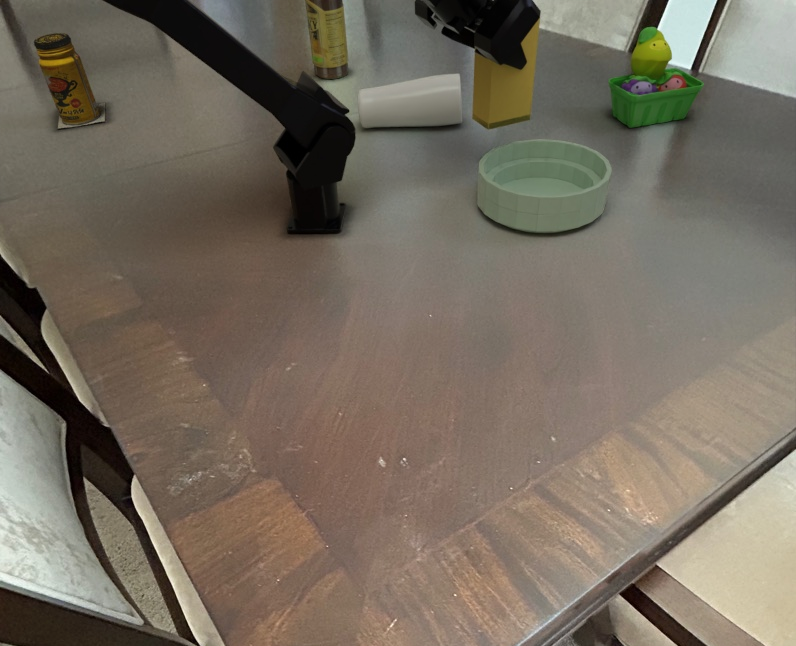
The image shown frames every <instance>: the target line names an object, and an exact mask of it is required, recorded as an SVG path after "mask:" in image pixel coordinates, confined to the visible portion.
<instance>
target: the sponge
mask: <svg viewBox="0 0 796 646" xmlns="http://www.w3.org/2000/svg"><path fill="white" fill-rule="evenodd" d="M540 11H541V10H540ZM540 22H541V17H540V18H539V20H538V21H537V22H536V24H535V25H534V26H533V28H532V29H531V30H530V32H529V33H528V34H527V36H526V37H525V38H524V40H523V41H522V42H521V45H522V48H523V51H524V54H525V57H526V60H527V64H526V65H525V66H524V68H523V69H522V70H519V69H517V68H514V67H511V66H508V65H505V64H502V65H499V64H497V63H495V62H493V61H491V60H489V59H487V58H484V57H483V56H481V55H479V54H477V53H475V52H474V61H473V62H474V63H473V85H472V86H473V87H472V89H473V90H472V114H471V118H472V120H473V121H475V122H476V123H477V124H479V125H480V126H482V127H484V128H485V129H486V130H488V131H490V130H493V129H499V128H502V127H506V126H507V127H508V126H510V125H515V124H519V123H523V122H528V121H531V115H532V106H533V105H532V103H533V95H534V94H533V93H534V84H535V74H536V65H537V64H536V63H537V54H538V43H539V33H540V32H539V31H540ZM475 50H476V47H475V49H474V51H475Z"/></svg>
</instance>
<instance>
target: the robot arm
mask: <svg viewBox="0 0 796 646" xmlns="http://www.w3.org/2000/svg"><path fill="white" fill-rule="evenodd" d="M102 2H105V3H106V4H108V5H111V6H112V7H114V8H116V9H118V10H120V11H122V12H125V13H127V14H129V15H131V16H133V17H136V18H139V19H141V20H143V21H146V22H148V23H149V24H151V25H153V26H154V27H156V28H157V29H158V30H159V31H161V32H162V33H163V34H165V35H166V36H167V37H169V38H170V39H172V40H173V41H174V42H175V43H176V44H179V45H180V46H181V47H182V48H184V49H185V50H186V51H187V52H189V53H190V54H191V55H193V56H195V58H197V59H198V60H199V61H201V62H202V63H204V64H205V65H206V66H208V67H209V68H210V69H211V70H213V71H214V72H215V73H217V74H218V75H219V76H221V77H222V78H223V79H225V80H226V81H227V82H229V83H230V84H231V85H233V86H234V87H235V88H237V89H238V90H240V91H241V92H242V93H243V94H244V95H246V96H247V97H249V98H250V99H251V100H253V101H254V102H256V103H257V104H258V105H260V106H261V107H262V108H263V109H265V110H266V112H269V113H270V114H271V115H272V116H273V117H274V118H275V120H277V121H278V122H279V124H280V125H281V126H282V127H283V128H284V129H283V131H282V132H281V133H280V135H279V137H278V138H277V140H276V141H275V142H274V144H273V146H272V149H273V151H274V153H275V154H276V157H277V158H278V159H279V161H280V163H281V164H283V165H284V166H285V167H286V169H287V170H286V171H285V176H286V177H285V178H286V184H287V190H288V196H289V200H290V207H291V214H290V216H289V219H288V222H287V225H286V233H288V234H329V233H331V234H332V233H333V234H335V233H337V234H338V233H341V231H342V228H343V224H344V220H345V216H346V212H347V204H346V203H345V202H340V199H339V191H338V190H339V189H338V183H341V182H342V181H343V178H344V174H345V170H346V169H345V168H346V165H347V160H348V157H349V156H350V155H351V153H352V151H353V149H354V147H355V143H356V138H357V136H356V127H355V125H354V122H352V120H351V119H350V118H349V117H348V116H347V115H348V114H349V113H350V111H351V110H350V109H349V108H348V107H347V106H346V105H345V104H344V103H342V102H341V100H339V99H338V98H337V97H335V96H334V95H333V94H332V93H331V92H330V91H329V90H326V89H324V88H323V87H322V86H321V85H320V84H319V83H318V82H316V80H314V78H313V77H311V76H310V75H309V74H307V73H306V72H305V71H304V70H302V71H301V73H300V74H299V77H298V80H297V81H296V80H293V79H291V78H289V77H287V76H285V75H284V74H281V73H280V72H279V71H277V70H276V69H275V68H274V67H272V66H271V65H270V64H269V63H267V62H266V61H265V60H264V59H263V58H262V57H260V56H259V55H258V54H256V53H255V52H254V51H253V50H251V49H250V48H249V47H248V46H247V45H246V44H245V43H243V42H242V41H241V40H239V39H238V38H237V37H235V36H234V34H232V33H231V32H230V31H228V30H227V29H225V27H223V26H222V25H221V24H220V23H218V22H217V21H216V20H215V19H213V18H212V17H211V16H210V15H208V14H207V13H206V12H205V11H204V10H202V9H201V8H200V7H199V6H198V5H196V4H195V3H194V2H192V0H102ZM414 15H415V16H416V18H418V19H419V20H420V22H421V23H422V24H424V26H427V27H428V28H430V29H432V30H436V28H437V27H438V24H439V25H442V26H443V27H442V29H441V31H440V33H441V35H442V36H444V37H446V38H448V39H450V40H452V41H454V42H457V43H459V44H461V45H464V46H466V47H469V48H471V49H474V54H475V53H477V54H479V55H481V56H483V57H484V58H487V59H489V60H491V61H493V62H495V63H497V64H499V65H502V64H505V65H508V66H511V67H514V68H517V69H519V70H522V69H523V68H524V66H525V65H526V64H527V60H526V57H525V54H524V51H523V48H522V45H521V42H522V41H523V40H524V38H525V37H526V36H527V34H528V33H529V32H530V30H531V29H532V28H533V26H534V25H535V24H536V22H537V21H538V20H539V18H540V19H541V11H540V8H539V6H537V4H536V3H535V2H534V0H415V1H414ZM475 47H476V50H475Z"/></svg>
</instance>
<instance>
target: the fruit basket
mask: <svg viewBox="0 0 796 646" xmlns="http://www.w3.org/2000/svg"><path fill="white" fill-rule="evenodd" d="M672 60H673V53H672V49H671V46H670V44H669V43H668V42H667V40H666V39H665V36H664V34H663V32H662V31H661V30H659V29H658V28H657V27H655V26H649V27H645V28H642V30H641V31H640V32H639V35H638V38H637V41H636V46H635V47H634V49H633V51H632V54H631V58H630V69H631V72H632V74H626V75H622V76H621V75H620V76H616V77H612V78H609V79H608V87H609V89H610V98H611V99H610V100H611V108H612V116H613V117H614V118H616V119H617V120H618V122H621V123H622V124H623V125H625V126H627V127H628V128H629V129H633V128H639V127H641V126H642V127H643V126H650V125H655V124H662V123H668V122H671V121H679V120H680V121H681V120H684V119H685V118H686V117H687V115H688V113H689V111H690V109H691V107H692V105H693V103H694V102H695V99H696V98H697V96H698V94H699V93H700V92H701V91H702V89H703V88H704V85H705V83H704V82H703V81H702V80H700V79H698V78H696V77H695V76H692V75H691V74H689V73H687V72H686V71H684V70H681V69H679V68H673V67H670V68H667V66H668V65H669V62H670V61H672Z"/></svg>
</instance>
